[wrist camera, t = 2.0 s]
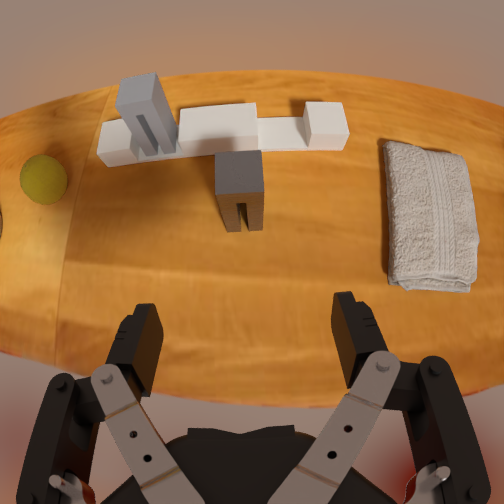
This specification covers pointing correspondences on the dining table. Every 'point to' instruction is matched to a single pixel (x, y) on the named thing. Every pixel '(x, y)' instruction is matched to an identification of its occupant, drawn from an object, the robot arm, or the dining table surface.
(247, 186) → the grey slotted block
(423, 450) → the robot arm
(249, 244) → the dining table surface
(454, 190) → the washcloth
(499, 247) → the dining table surface
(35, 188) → the lemon
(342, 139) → the rail
